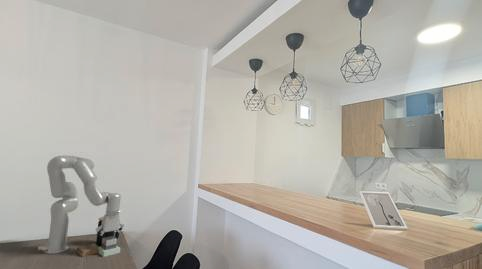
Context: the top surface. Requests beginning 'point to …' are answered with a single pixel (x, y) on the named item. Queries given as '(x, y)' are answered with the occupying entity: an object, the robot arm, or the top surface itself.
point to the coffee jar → (103, 234)
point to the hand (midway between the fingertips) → (108, 240)
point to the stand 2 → (108, 251)
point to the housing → (109, 242)
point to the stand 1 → (88, 250)
